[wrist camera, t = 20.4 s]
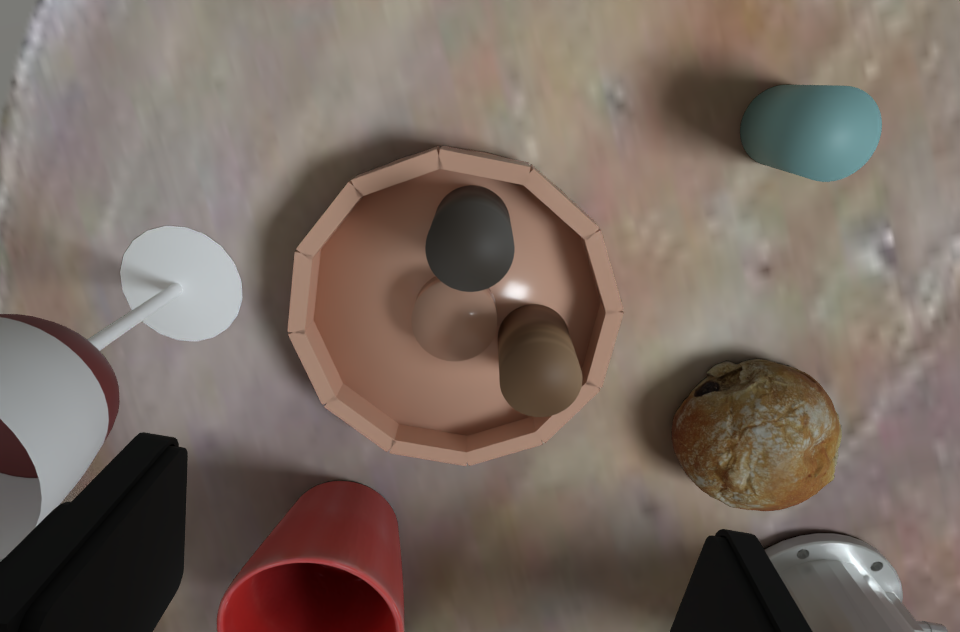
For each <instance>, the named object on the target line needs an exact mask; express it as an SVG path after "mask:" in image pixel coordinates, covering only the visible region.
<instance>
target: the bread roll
mask: <svg viewBox="0 0 960 632" xmlns="http://www.w3.org/2000/svg"><path fill="white" fill-rule="evenodd" d="M707 374H708V376H707V377H706V379H704V380H703V381H702V382H701V383H699V384H698V385H697V386H696V387H695V389H694V390H693V391H692V392H691V393H690V395H689V396H688V398H686V399H685V400H684V401H683V403H682V405H681V406H680V408H679V409H678V410H677V411H676V413H675V416H674V418H673V423H672V443H673V448H674V452H675V454H676V456H677V458H678V460H679V462H680V464H681V466H682V468H683V470H684V471H685V473H686V474H687V475H688V477H689V478H690V479H691V480H692V481H693V482H694V483H695V484H696V485H697V486H698V487H699V488H700V489H701V490H702V491H703V492H705V493H707V494H708V495H709V496H710V497H713V498H715V499H717V500H719V501H721V502H723V503H725V504H726V505H728V506H730V507H733V508H740V509H746V510H758V511H774V510H781V509H785V508H788V507H791V506H794V505H797V504H799V503H802V502H804V501H805V500H807V499H809V498H810V497H812V496H813V495H815V494H817V493H818V491H820V490H821V489H822V488H823V487H824V486H825V485H827V484H828V483H829V482H831V481H832V480H833V479H834V477H835V476H834V475H833V474H834V472H835V466H836V464H837V459H838V448H839V446H840V442H841V437H842V432H841V425H840V423H839V416H838V414H837V413H836V411H835V409H834V405H833V403H832V401H831V399H830V397H829V396H828V394H827V393H826V392H825V390H824V389H823V388H822V386H821V385H820V384H819V383H818V382H817V381H816V380H815V379H814V378H812V377H811V376H810V375H808V374H806V373H805V372H802V371H800V370H798V369H795V368H792V367H790V366H788V365H782V364H778V363H775V362H772V361H768V360H762V359H753V360H747V361H743V362H741V363H739V364H737V365H736V364H734V363H732V362H729V361H725V362H722V363H720V364H717V365H715V366H714V367H712V368H711V369H710V370H709V371H708V372H707Z"/></svg>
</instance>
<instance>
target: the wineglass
mask: <svg viewBox="0 0 960 632" xmlns="http://www.w3.org/2000/svg"><path fill="white" fill-rule="evenodd" d="M120 276H121V283H122V291H123V293H124V295H125V297H126V299H127V301H128V303H129V305H130V308H131V309H132V311H130V312H129V313H127V314H126V315H124V316H123V317H121V318H119V319H118V320H116V321H115V322H113V323H112V324H110V325H109V326H107V327H106V328H104V329H103V330H101V331H100V332H98V333H96V334H95V335H93V336H92V337H90V338H89V339H85V338H84V337H82V336H81V335H80V334H78V333H76V332H74V331H73V330H71V329H69V328H67V327H65V326H62V325H60V324H57V323H55V322H52V321H48V320H44V319H40V318H37V317H33V316H26V315H18V314H0V559H3V558H5V557H6V556H7V555H8V554H9V553H10V552H11V551H12V550H13V549H14V548H15V547H16V546H17V545H18V544H19V543H20V542H21V541H22V540H23V539H24V538H25V537H26V536H27V535H28V534H29V533H30V532H31V531H32V530H33V529H34V528H35V527H36V526H37V525H38V524H39V523H40V522H41V521H42V520H43V519H44V518H45V517H46V516H47V515H48V514H49V513H50V512H51V511H52V510H54V509H55V508H56V507H57V506H59V505H60V503H61V502H62V501H63V500H64V498H65V497H66V496H67V495H68V494H69V493H70V491H71V490H72V489H73V488H74V486H75V485H76V484H77V483H78V481H79V480H80V479H81V477H82V476H83V475H84V473H85V472H86V470H87V469H88V467H89V466H90V464H91V462H92V461H93V459H94V458H95V456H96V454H97V453H98V451H99V450H100V448H101V446H102V445H103V443H104V441H105V440H106V438H107V437H108V435H109V433H110V431H111V429H112V427H113V424H114V422H115V419H116V416H117V413H118V409H119V386H118V382H117V379H116V376H115V373H114V371H113V369H112V367H111V365H110V364H109V362H108V361H107V359H106V358H105V357H104V356H103V354H102V353H101V352H100V350H101V349H103V348H104V347H106V346H107V345H108V344H110V343H111V342H113V341H114V340H116V339H117V338H118V337H120V336H121V335H123V334H124V333H126V332H127V331H128V330H130V329H131V328H133V327H134V326H136V325H137V324H138V323H140V322H141V321H143V323H145V324H146V325H148V326H149V327H151V328H152V329H154V330H155V331H157V332H158V333H159V334H162V335H165V336H168V337H170V338H173V339H176V340H183V341H200V340H204V339H209V338H213V337H215V336H216V335H218V334H220V333H221V332H223V331H224V330H226V329H227V328H228V327H229V326H230V325H231V323H232V322H233V321H234V319H235V318H236V317H237V315H238V313H239V309H240V306H241V302H242V284H241V278H240V276H239V273H238V271H237V268H236V266H235V263H234V262H233V260H232V259H231V258H230V257H229V255H228V254H227V253H226V252H225V250H224V249H223V248H222V247H221V246H220V245H219V244H217V243H216V242H215V241H213V240H212V239H211V238H209V237H208V236H206V235H205V234H203V233H200V232H197V231H195V230H192V229H189V228H187V227H177V226H163V227H159V228H155V229H151V230H148V231H146V232H145V233H143V234H142V235H140V236H139V237H138V238H136V239H135V240H133V242H132V243H131V245H130V246H129V248H128V249H127V251H126V252H125V254H124V256H123V260H122V265H121V270H120Z"/></svg>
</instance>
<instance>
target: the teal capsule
mask: <svg viewBox="0 0 960 632" xmlns="http://www.w3.org/2000/svg"><path fill="white" fill-rule="evenodd" d="M881 129H882V120H881V114H880V111H879V108H878V106H877V104H876V102H875V101H874V100H873V98H872V97H871V96H870V95H868V94H867V93H866V92H864V91H863V90H860V89H858V88H855V87H851V86H827V85H779V86H775V87H772V88H769V89H767V90H765V91H764V92H762V93H761V94H759V95H758V96H757V97H756V98H755V99H754V100H753V101H752V102H751V103H750V105H749V106H748V108H747V109H746V111H745V113H744V115H743V118H742V122H741V127H740V137H741V142H742V145H743V147H744V149H745V151H746V153H747V154H748V155H749V156H750V157H751V158H752V159H753V160H755V161H756V162H758V163H761V164H763V165H767V166H770V167H773V168H776V169H780V170H783V171H786V172H789V173H793V174H796V175H799V176H802V177H805V178H809V179H812V180H816V181H822V182H830V181H836V180H839V179H843V178H845V177H847V176H849V175H851V174H853V173H854V172H856V171H857V170H859V169H860V168H861V167H862V166H863V165H864V164H865V163H866V162H867V161H868V160H869V159H870V157H871V156H872V154H873V153H874V151H875V149H876V147H877V145H878V142H879V139H880V136H881Z"/></svg>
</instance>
